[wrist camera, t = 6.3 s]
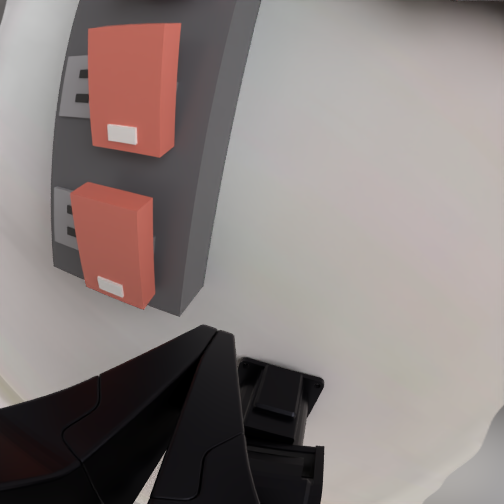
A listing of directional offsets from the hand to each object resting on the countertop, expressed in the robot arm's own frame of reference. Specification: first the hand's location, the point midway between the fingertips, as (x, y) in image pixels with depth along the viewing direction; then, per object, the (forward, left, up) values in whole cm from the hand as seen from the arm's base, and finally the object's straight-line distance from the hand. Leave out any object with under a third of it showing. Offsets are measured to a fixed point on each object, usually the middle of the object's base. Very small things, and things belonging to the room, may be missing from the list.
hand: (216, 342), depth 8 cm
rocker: (+6, +7, -6) cm, 12 cm away
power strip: (+11, +9, -12) cm, 19 cm away
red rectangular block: (-2, +7, -6) cm, 10 cm away
